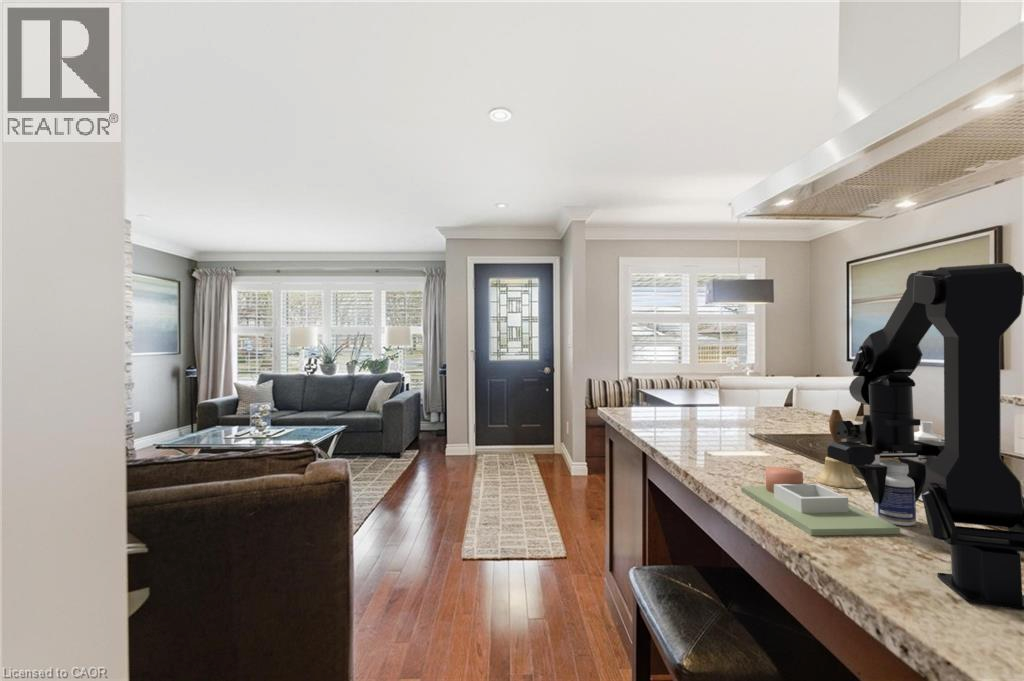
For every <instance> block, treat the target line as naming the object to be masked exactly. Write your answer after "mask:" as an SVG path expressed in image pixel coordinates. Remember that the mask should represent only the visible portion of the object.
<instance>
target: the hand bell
mask: <svg viewBox="0 0 1024 681" xmlns="http://www.w3.org/2000/svg"><path fill="white" fill-rule="evenodd" d="M828 420H829V421H828V424H829V425H828V426H829V432H830V435H831V438H832V442H842V439H840V438H838V436H837V432H836V422H839V421H844V419H843V417H842V414H841V412H840V410H839V409H831V414H830V416H829V419H828ZM823 466H824V467H823V470H822V472H821V473H820V474H819V475H818V476H817V477H816V478H815V481H816V482H817V483H819V484H820V485H825V486H829V487H833V488H840V489H842V488H843V489H858V488H863V487H864V485H863V482H862V481H861V480H859V479H858V477H857V476H856V474H855V473H854V470H853V467H852V465H851V464H847V463H844V462H841V461H838V460H835V459H832V458H829V457H828V455H827V456H825V459H824V465H823Z"/></svg>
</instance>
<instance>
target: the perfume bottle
mask: <svg viewBox="0 0 1024 681" xmlns="http://www.w3.org/2000/svg"><path fill="white" fill-rule="evenodd" d="M920 423H921V426H918V428H919V430H918V431H914V440H934V441H938V442H942V437H943V436H941V435H939V434H938V433H935V432H934V431H933V424H934V422H933V421H930V420H929V421H928V420H920ZM921 495H922V494H921ZM921 495H920V497H919V498H918V500H920V501H922V502H923V500H922V496H921Z"/></svg>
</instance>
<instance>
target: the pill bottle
mask: <svg viewBox="0 0 1024 681" xmlns="http://www.w3.org/2000/svg"><path fill="white" fill-rule="evenodd" d="M880 465H883V466H886V467H887V474H886V481H885V488H884V495H883V499H882V503H881V504H878V503H876V502H874V501H873V508H874V509H873V510H874V516H875V517H878V518H880V519H882V520H884V521H886V522H888V523H891V524H893V525H895V526H904V527H905V526H907V527H908V526H914V525H916V524H917V510H916V509H917V508H916V507H917V506H916V505H917V504H916V503H917V501H916V502H915V483H914V481H913V480H912V479H911V478H910V477H908V476H907V474H908V472H909V468H908V465H907V464H905V463H901V462H900V461H894V460H880Z"/></svg>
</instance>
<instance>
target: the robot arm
mask: <svg viewBox="0 0 1024 681" xmlns="http://www.w3.org/2000/svg"><path fill="white" fill-rule="evenodd" d="M905 286H906V289H905V291H904V292H903V294H902V295H901V297H900V300H899V301H898V303H897V304H896V306H895V308H894V309H893V311H892V313H891V314H890V317H889V319H888V320H887V322H886V324H885V326H884V327H883V328H880V329H879V330H876V331H874V332H872V333H871V332H870V334H869V335H868V336H867V338H865V340H864V341H863V342H862V345H860V346H859V348H858V351H857V352H856V355H855V357H854V360H853V362H852V365H851V370H852V374H853V376H854V377H855V378H854V379H852V380H851V382H850V385H849V387H848V390H849V393H850V396H851V397H852V399H854V400H855V401H857V402H858V403H860V404H864V405H867V406H869V414H864V415H863V417H862V423H858V424H855V423H853V421H852V420H843V421H839V422H836V432H837V436H838V438H840V439H841V440H847V441H841V442H833V441H831V442H830V443H829V444H828V445H827V447H826V448H827V451H826V452H827V453H826V454H827V456H828V457H829V458H832V459H835V460H838V461H841V462H844V463H847V464H851V466H852V465H853V466H854V467H855V468H856V469H857V470H858V472H859V474H860V475H861V477H862V479H863V480H864V482H865V485H866V486H867V488H868V491H869V494H870V496H871V497H872V500H873V503H874V502H876V503H878V504H881V503H882V499H883V495H884V488H885V481H886V474H887V467H886V466H883V465H880V461H881V459H883V458H884V459H885V458H889V459H890V458H897V459H898V460H899V461H898V462H901V463H905V464H907V465H908V468H909V472H908V474H907V476H908V477H910V478H911V479H912V480H913V481H914V483H915V502H916V503H917V501H918V500H919V499H918V498H919V497H920V495H921V494H922V495H921V496H922V500H923V501H922V503H923V507H924V512H925V518H926V522H927V525H928V528H929V531H930V536H931V537H932V538H934V539H936V540H941V541H944V542H945V543H946V544H947V545H950V560H951V561H950V562H951V564H950V565H951V566H950V567H951V568H950V569H951V573H945V572H937V578H938V579H939V580H940V581H942V582H943V583H945V585H946V586H947V587H949V588H950V589H951V590H952V591H953V592H955V593H957V595H959V596H960V597H961V598H962V599H963V600H964V601H966V602H968V603H971V604H973V605H974V604H975V605H980V606H981V605H983V606H990V607H998V608H1005V609H1011V610H1012V609H1015V610H1021V611H1024V594H1023V579H1022V576H1023V575H1022V559H1021V558H1022V557H1021V553H1024V496H1023V489H1022V483H1021V481H1020V480H1019V479H1018V478H1017V476H1016V475H1015V473H1013V471H1012V470H1011V469H1010V468H1009V466H1007V463H1005V461H1004V460H1003V459H1002V455H1001V453H1002V452H1001V451H1002V450H1001V447H1002V446H1001V438H1002V436H1001V431H1002V430H1001V421H1002V420H1001V418H1002V417H1001V414H1002V413H1001V340H1002V336H1003V335H1004V334H1005V333H1006V332H1007V331H1008V330H1009V328H1010V327H1012V325H1013V324H1014V323H1015V322H1016V321H1017V319H1018V318H1019V317H1020V315H1022V309H1023V299H1024V274H1023V272H1021V271H1017V270H1016V268H1014V266H1013V265H1011V264H1009V263H1007V262H1001V263H1000V262H999V263H998V262H997V263H986V264H985V263H984V264H973V265H972V264H971V265H968V264H967V265H955V266H954V265H953V266H942V267H938V268H935V269H924V270H922V269H921V270H917V271H915V272H911V273H909V275H908V277H907V279H906V285H905ZM932 326H933V327H935V329H936V331H938V333H940V335H941V336H942V337H943V400H944V402H943V403H944V404H943V411H944V412H943V413H944V423H943V426H944V429H943V430H944V436H943V437H944V442H943V441H941V442H938V441H934V440H914V433H915V427H917V426H918V427H919V426H921V423H920V421H921V419H920V418H914V398H913V396H914V395H913V387H916V382H915V380H914V379H913V378H911V376H912V374H913V373H914V371H915V370H916V369H917V367H918V366H919V365H920V364H921V362H922V357H923V352H922V349H921V347H920V343H921V341H922V340H923V338H925V335H926V334H927V333H928V332H929V330H930V329H931V327H932ZM914 426H915V427H914ZM956 524H963V525H964V524H965V525H975V526H984V527H985V526H986V527H993V529H991V528H980V527H971V526H961V525H960V526H959V525H956ZM994 527H996V528H1005V529H1006V528H1007V529H1008V530H1000V529H994ZM1020 552H1021V553H1020Z"/></svg>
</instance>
